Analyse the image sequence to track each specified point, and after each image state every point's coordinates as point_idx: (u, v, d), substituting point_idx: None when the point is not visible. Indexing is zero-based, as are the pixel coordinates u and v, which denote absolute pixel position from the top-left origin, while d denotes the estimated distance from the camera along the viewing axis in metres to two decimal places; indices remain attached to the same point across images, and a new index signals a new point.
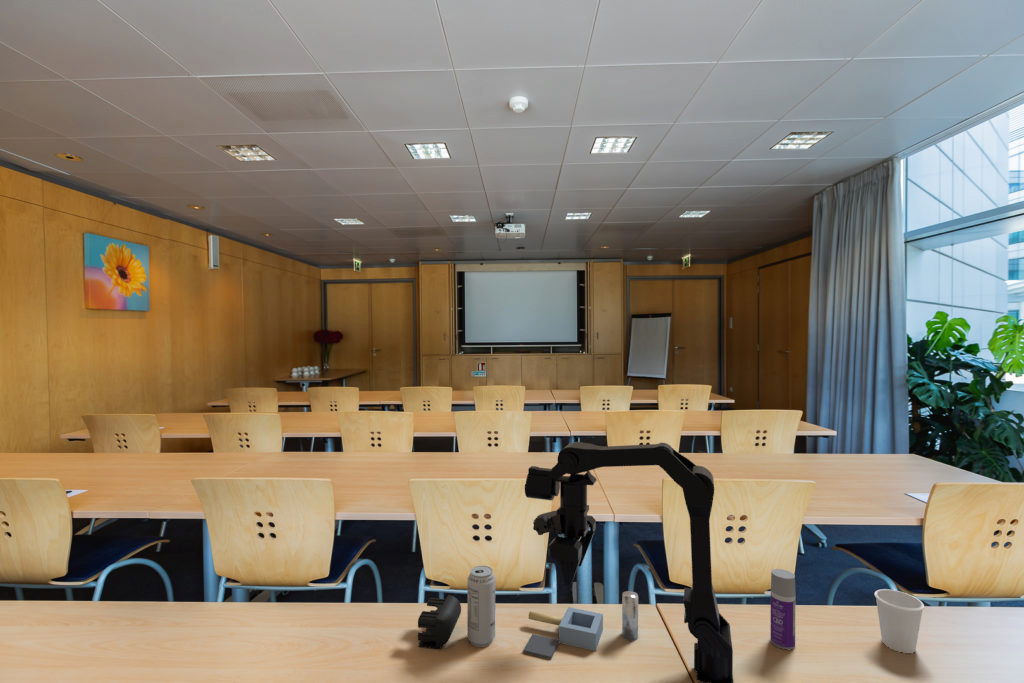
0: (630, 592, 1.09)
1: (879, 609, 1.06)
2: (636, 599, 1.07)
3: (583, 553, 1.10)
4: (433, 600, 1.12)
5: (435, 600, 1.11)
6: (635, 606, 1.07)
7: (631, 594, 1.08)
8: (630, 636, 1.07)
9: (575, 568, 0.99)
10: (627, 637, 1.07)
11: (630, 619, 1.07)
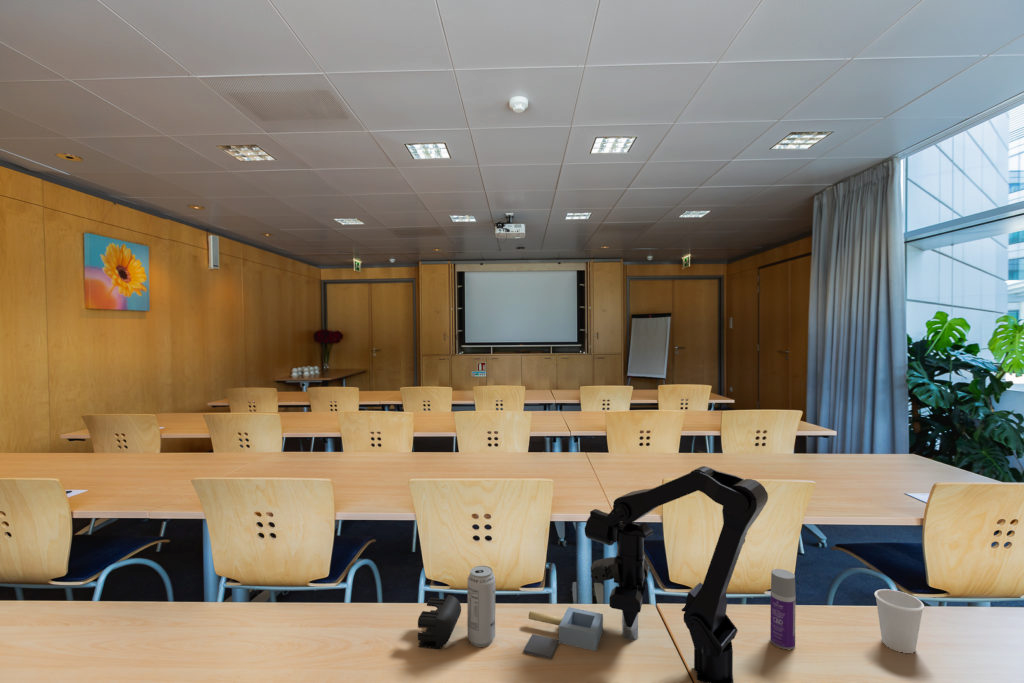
0: None
1: (879, 609, 1.06)
2: None
3: None
4: (433, 600, 1.12)
5: (435, 600, 1.11)
6: None
7: None
8: (630, 636, 1.07)
9: None
10: (627, 637, 1.07)
11: None
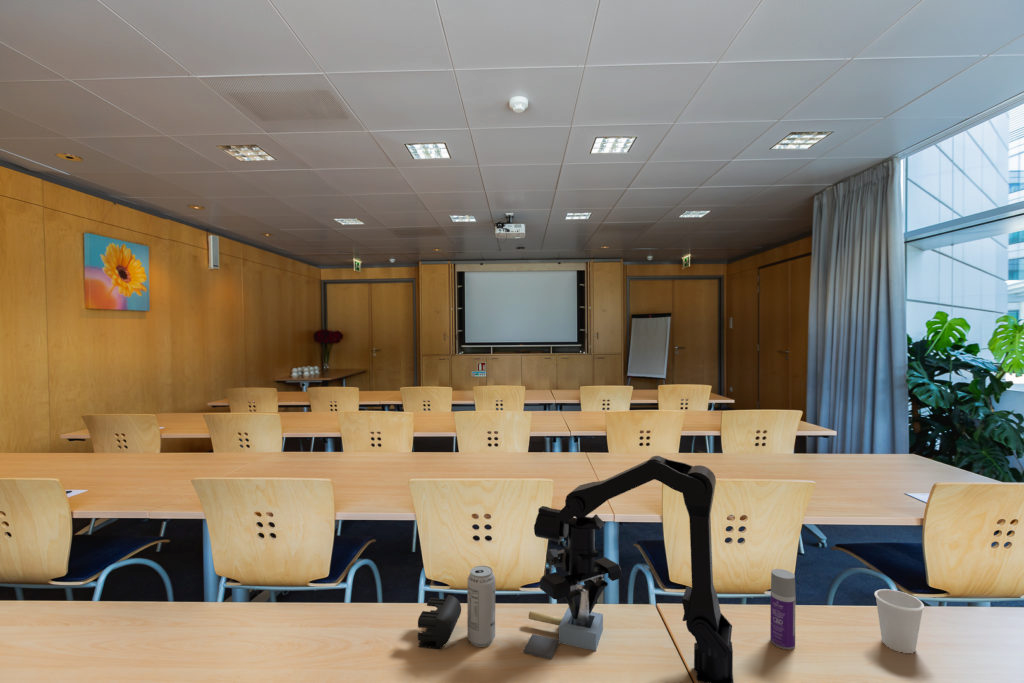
0: (584, 587, 1.09)
1: (879, 609, 1.06)
2: (582, 593, 1.06)
3: (591, 602, 1.08)
4: (433, 600, 1.12)
5: (435, 600, 1.11)
6: (581, 600, 1.06)
7: (582, 588, 1.08)
8: None
9: (574, 603, 1.05)
10: None
11: None
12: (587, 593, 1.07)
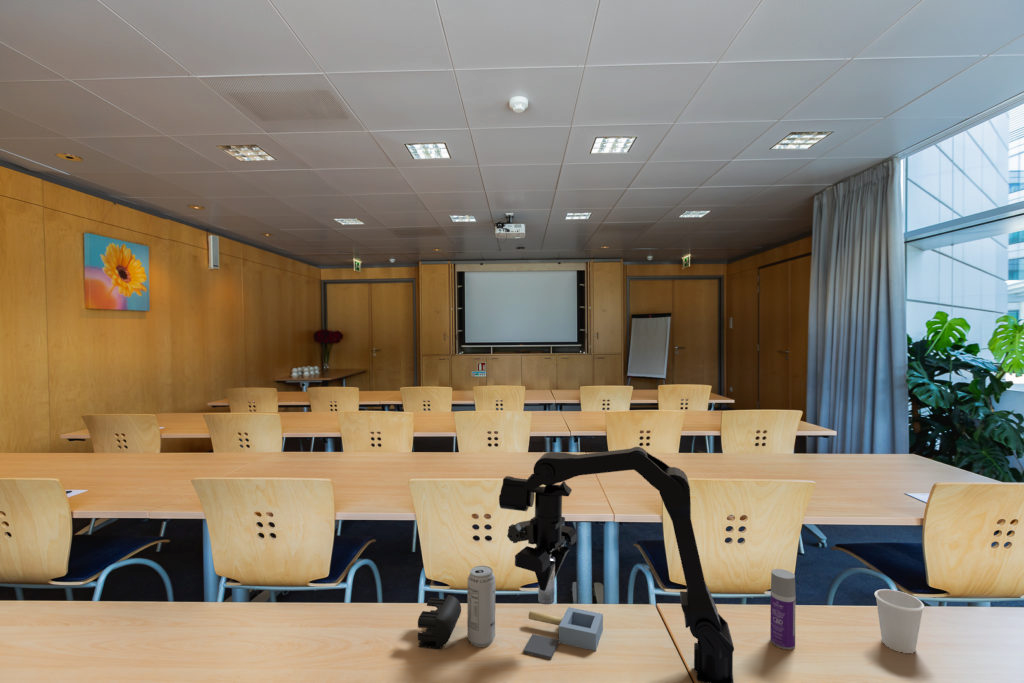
0: None
1: (879, 609, 1.06)
2: None
3: (555, 570, 1.06)
4: (433, 600, 1.12)
5: (435, 600, 1.11)
6: None
7: None
8: (544, 599, 1.03)
9: (548, 574, 1.01)
10: (541, 600, 1.04)
11: None
12: (554, 561, 1.04)
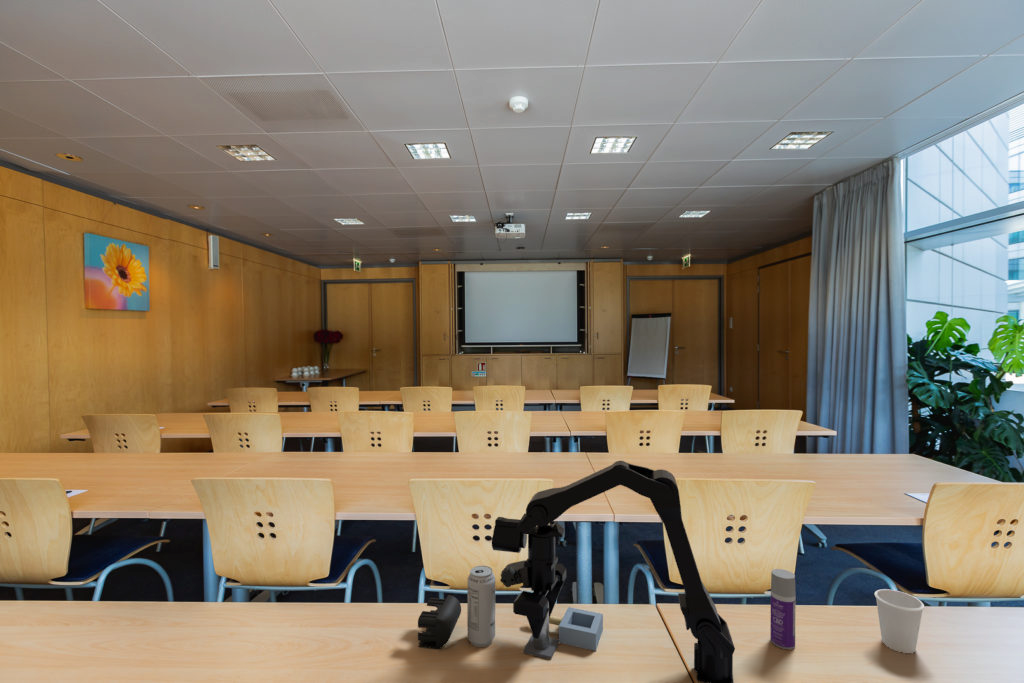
0: None
1: (879, 609, 1.06)
2: None
3: (551, 606, 1.07)
4: (433, 600, 1.12)
5: (435, 600, 1.11)
6: None
7: None
8: (540, 645, 1.02)
9: (542, 622, 0.98)
10: (537, 646, 1.03)
11: None
12: (548, 604, 1.04)
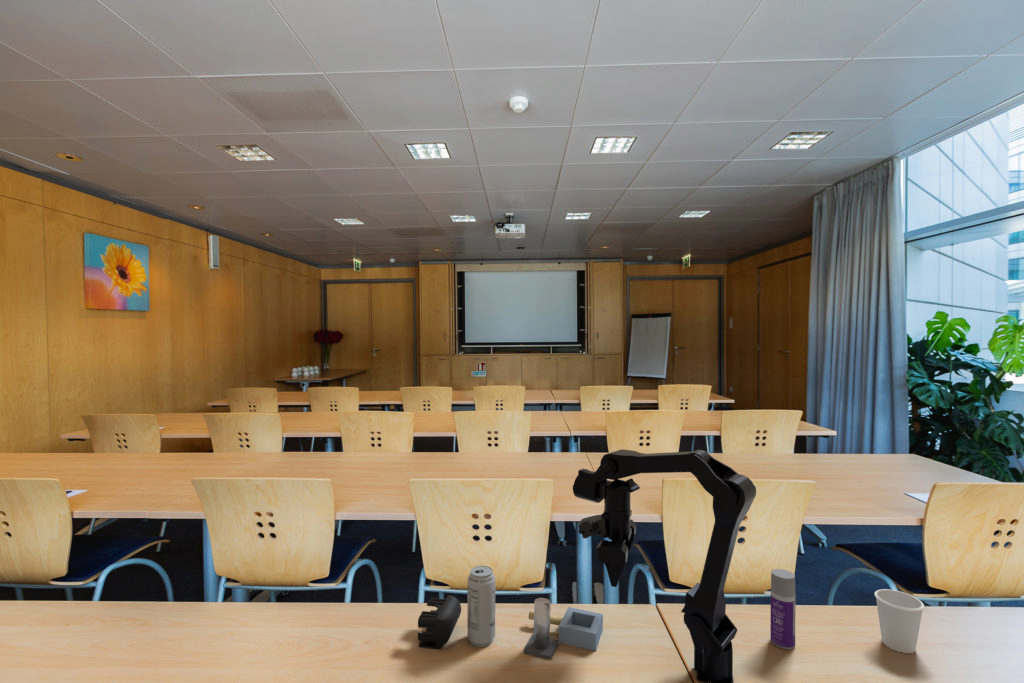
0: (543, 599, 1.05)
1: (879, 609, 1.06)
2: (547, 606, 1.03)
3: None
4: (433, 600, 1.12)
5: (435, 600, 1.11)
6: (546, 613, 1.03)
7: (543, 601, 1.04)
8: (540, 645, 1.02)
9: (621, 570, 1.04)
10: (537, 646, 1.03)
11: (540, 627, 1.02)
12: None
